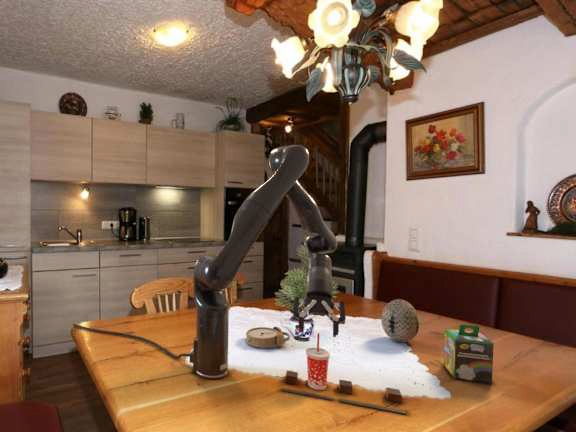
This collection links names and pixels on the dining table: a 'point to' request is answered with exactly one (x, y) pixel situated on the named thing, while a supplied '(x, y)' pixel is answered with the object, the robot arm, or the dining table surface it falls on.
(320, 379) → the beverage cup
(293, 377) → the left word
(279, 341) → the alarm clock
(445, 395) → the dining table surface
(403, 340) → the decorative egg
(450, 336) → the chalk box
